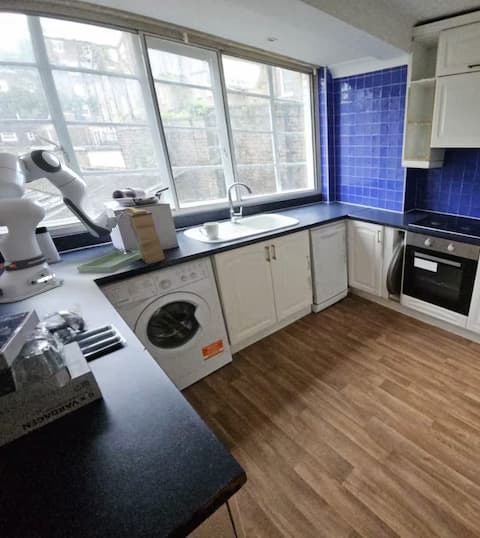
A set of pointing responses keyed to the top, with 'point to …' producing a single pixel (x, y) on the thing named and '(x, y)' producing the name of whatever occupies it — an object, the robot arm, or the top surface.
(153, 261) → the key stand
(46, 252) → the travel mug
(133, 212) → the key
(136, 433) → the top surface
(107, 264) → the tray
